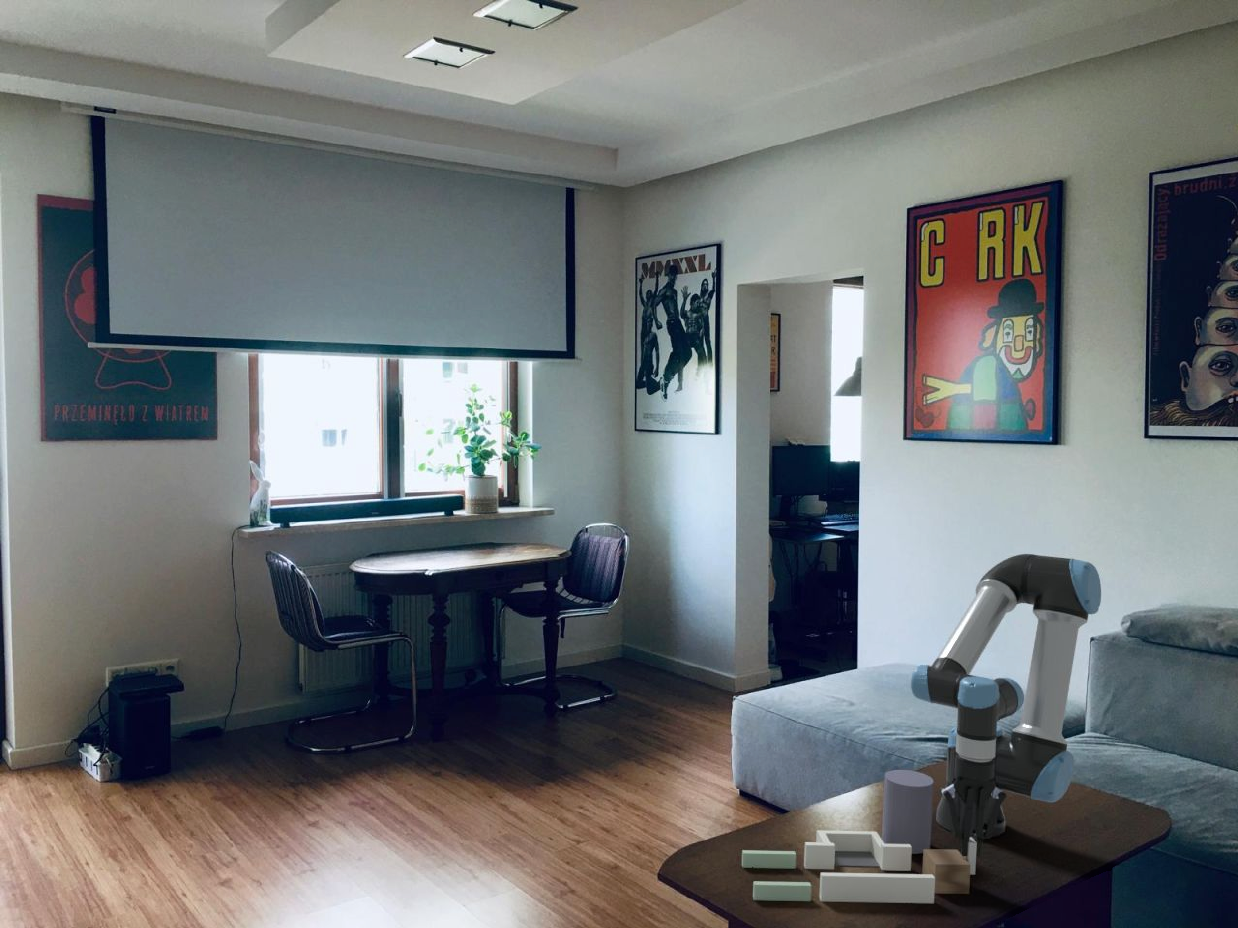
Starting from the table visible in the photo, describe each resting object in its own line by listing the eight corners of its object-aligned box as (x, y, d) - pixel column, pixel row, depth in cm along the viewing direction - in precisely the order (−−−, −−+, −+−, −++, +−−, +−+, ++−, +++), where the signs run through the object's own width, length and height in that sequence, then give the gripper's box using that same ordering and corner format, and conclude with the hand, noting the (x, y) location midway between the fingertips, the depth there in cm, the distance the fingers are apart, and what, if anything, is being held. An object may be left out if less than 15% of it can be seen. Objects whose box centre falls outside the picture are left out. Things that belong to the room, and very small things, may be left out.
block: (955, 878, 209) (957, 849, 209) (969, 894, 202) (970, 864, 202) (922, 877, 209) (923, 848, 209) (934, 893, 202) (935, 864, 202)
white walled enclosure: (895, 849, 222) (897, 827, 221) (933, 903, 198) (935, 877, 197) (795, 847, 221) (796, 825, 220) (821, 901, 197) (822, 875, 197)
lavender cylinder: (895, 856, 218) (898, 787, 218) (873, 836, 228) (876, 770, 228) (939, 853, 220) (942, 785, 220) (915, 834, 231) (918, 768, 230)
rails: (794, 865, 212) (794, 851, 212) (810, 900, 197) (811, 885, 197) (741, 864, 212) (742, 850, 212) (754, 899, 196) (754, 884, 196)
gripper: (999, 750, 208) (993, 863, 209) (936, 748, 208) (930, 862, 209) (1015, 763, 201) (1008, 880, 202) (949, 761, 200) (943, 879, 201)
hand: (968, 871), depth 205 cm, fingers closed
